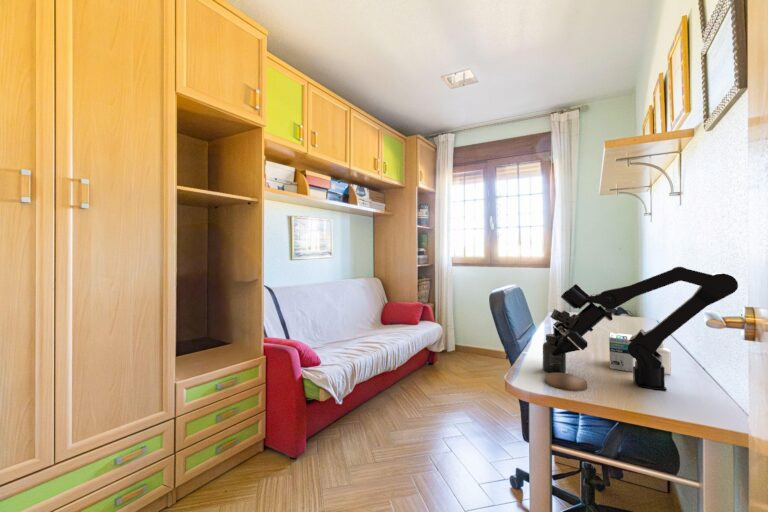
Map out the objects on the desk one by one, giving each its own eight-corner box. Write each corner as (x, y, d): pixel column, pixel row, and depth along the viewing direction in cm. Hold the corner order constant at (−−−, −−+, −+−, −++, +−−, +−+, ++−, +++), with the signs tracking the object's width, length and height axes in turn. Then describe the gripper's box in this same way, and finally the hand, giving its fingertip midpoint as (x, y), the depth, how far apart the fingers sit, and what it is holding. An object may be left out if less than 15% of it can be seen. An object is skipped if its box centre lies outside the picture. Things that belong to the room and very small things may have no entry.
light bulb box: (633, 372, 108) (633, 339, 108) (609, 368, 112) (608, 337, 112) (633, 364, 116) (633, 334, 116) (610, 361, 120) (610, 331, 121)
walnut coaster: (585, 380, 100) (585, 376, 100) (589, 393, 90) (589, 388, 90) (545, 375, 105) (545, 370, 105) (544, 386, 95) (544, 381, 95)
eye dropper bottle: (667, 376, 104) (666, 338, 104) (646, 371, 109) (645, 335, 109) (673, 374, 106) (672, 337, 107) (652, 369, 111) (651, 333, 111)
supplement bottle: (543, 366, 113) (543, 332, 113) (566, 370, 110) (565, 334, 110) (541, 372, 107) (541, 336, 108) (565, 376, 104) (565, 338, 104)
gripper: (559, 298, 117) (526, 327, 120) (575, 305, 99) (536, 339, 102) (584, 321, 115) (550, 350, 117) (605, 332, 97) (564, 366, 99)
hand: (549, 351), depth 109 cm, fingers open, 9 cm apart
